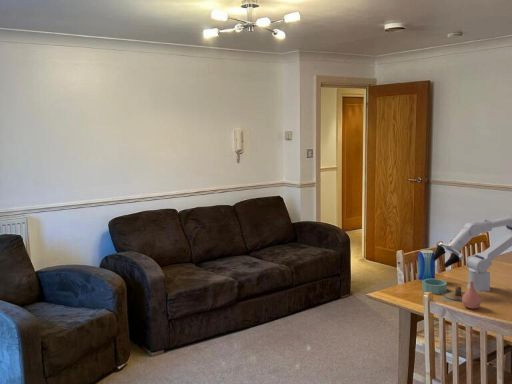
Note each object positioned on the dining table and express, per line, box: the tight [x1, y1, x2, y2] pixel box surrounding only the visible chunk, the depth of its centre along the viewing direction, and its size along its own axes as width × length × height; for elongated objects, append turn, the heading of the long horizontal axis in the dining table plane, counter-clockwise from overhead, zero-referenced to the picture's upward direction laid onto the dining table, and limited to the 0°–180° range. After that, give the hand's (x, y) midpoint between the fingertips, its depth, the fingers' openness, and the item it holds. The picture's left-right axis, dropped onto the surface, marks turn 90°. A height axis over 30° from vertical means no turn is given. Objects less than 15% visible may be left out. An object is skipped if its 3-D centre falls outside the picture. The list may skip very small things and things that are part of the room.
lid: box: [445, 285, 466, 301], centre depth 233 cm, size 12×12×5 cm
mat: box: [441, 292, 463, 303], centre depth 234 cm, size 14×14×1 cm
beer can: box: [417, 249, 436, 283], centre depth 258 cm, size 8×8×16 cm
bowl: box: [421, 278, 448, 295], centre depth 244 cm, size 11×11×4 cm
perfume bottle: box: [461, 282, 482, 309], centre depth 219 cm, size 8×8×12 cm
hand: (439, 263), depth 239 cm, fingers open, 7 cm apart
